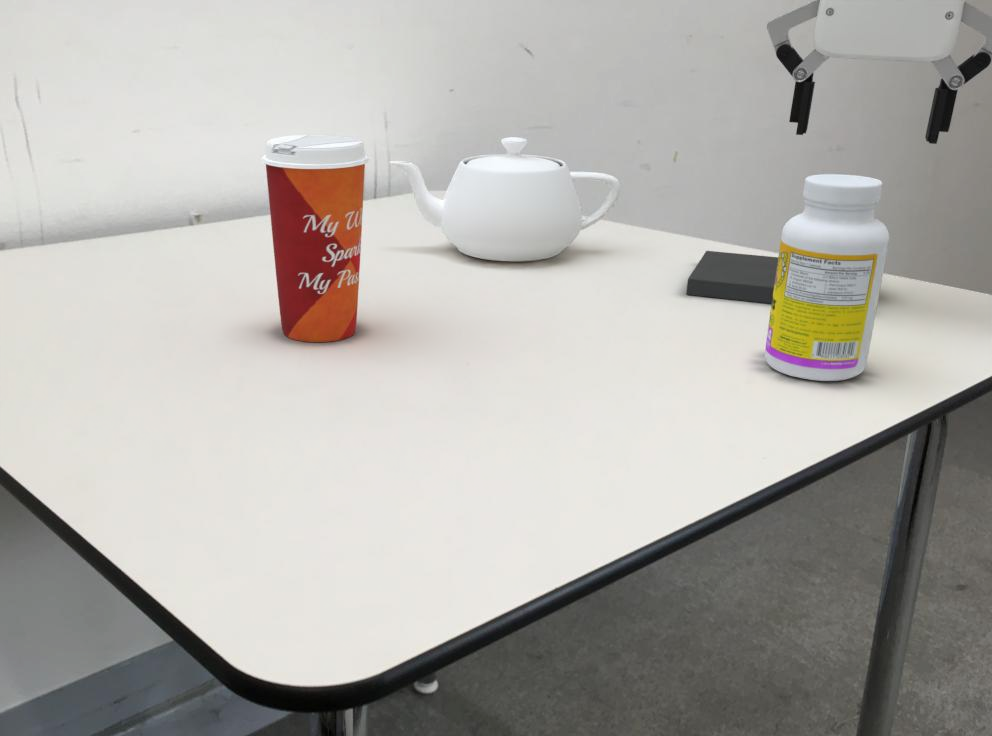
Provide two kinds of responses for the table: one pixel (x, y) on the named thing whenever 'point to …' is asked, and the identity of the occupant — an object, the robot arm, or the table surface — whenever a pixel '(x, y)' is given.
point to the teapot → (510, 204)
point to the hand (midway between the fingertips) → (864, 136)
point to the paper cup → (316, 232)
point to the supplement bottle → (828, 280)
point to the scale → (734, 277)
